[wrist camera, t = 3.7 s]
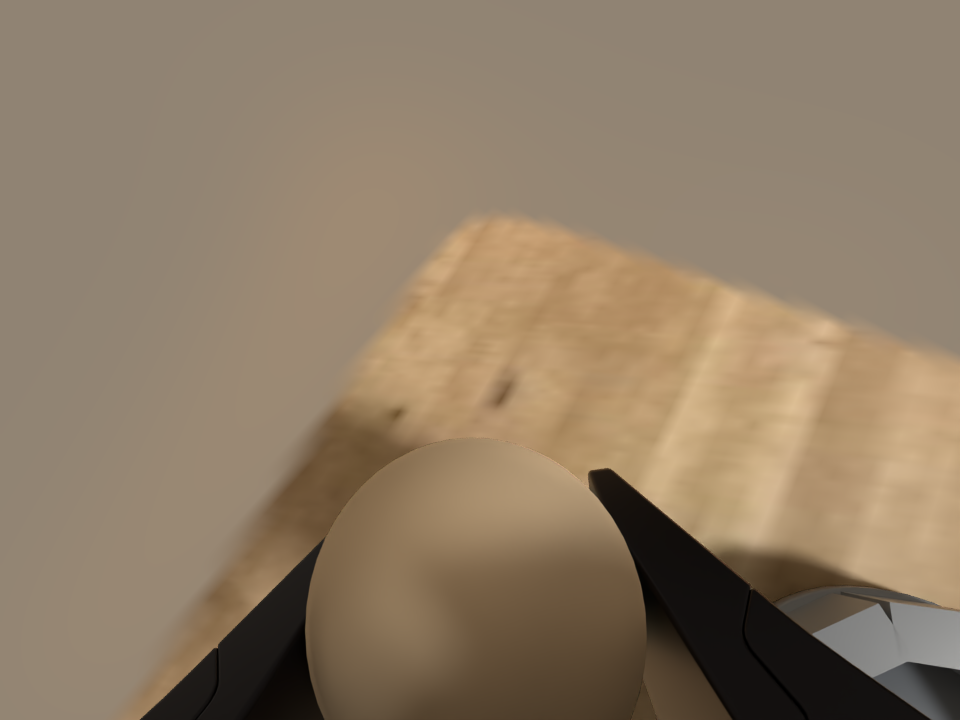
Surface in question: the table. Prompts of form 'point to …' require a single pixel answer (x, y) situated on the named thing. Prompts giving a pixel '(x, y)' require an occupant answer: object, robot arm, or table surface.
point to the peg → (475, 594)
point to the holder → (888, 640)
